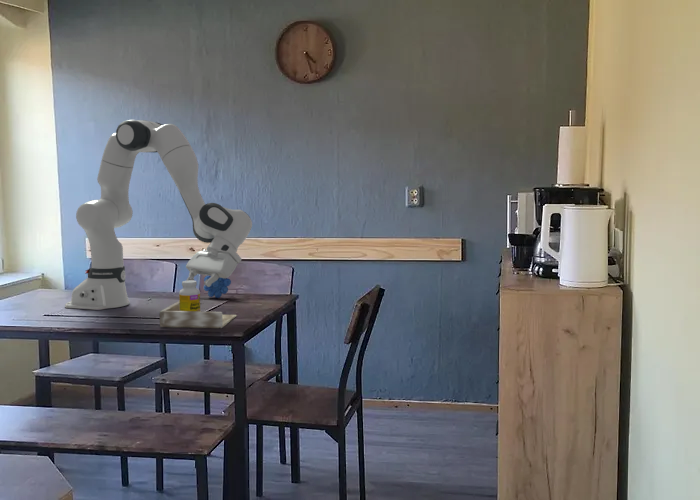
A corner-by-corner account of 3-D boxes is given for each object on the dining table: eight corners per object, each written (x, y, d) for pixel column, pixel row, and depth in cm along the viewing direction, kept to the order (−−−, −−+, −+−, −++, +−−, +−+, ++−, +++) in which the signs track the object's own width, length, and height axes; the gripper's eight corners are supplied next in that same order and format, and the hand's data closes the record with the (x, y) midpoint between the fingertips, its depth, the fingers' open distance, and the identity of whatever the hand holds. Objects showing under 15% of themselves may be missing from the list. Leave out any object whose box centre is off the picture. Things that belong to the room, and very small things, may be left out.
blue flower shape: (236, 296, 282) (235, 266, 280) (228, 300, 275) (227, 268, 274) (209, 295, 285) (208, 265, 284) (201, 298, 279) (200, 267, 277)
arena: (160, 327, 231) (159, 311, 230) (179, 315, 248) (179, 300, 248) (221, 328, 228) (220, 312, 228) (236, 316, 246) (236, 301, 245)
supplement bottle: (190, 323, 233) (189, 283, 231) (175, 320, 236) (174, 282, 234) (205, 319, 238) (203, 280, 237) (190, 317, 242) (189, 279, 240)
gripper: (196, 243, 249) (173, 274, 243) (234, 248, 235) (210, 281, 229) (207, 255, 253) (184, 286, 247) (245, 260, 239) (222, 293, 233)
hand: (197, 283), depth 238 cm, fingers open, 8 cm apart
